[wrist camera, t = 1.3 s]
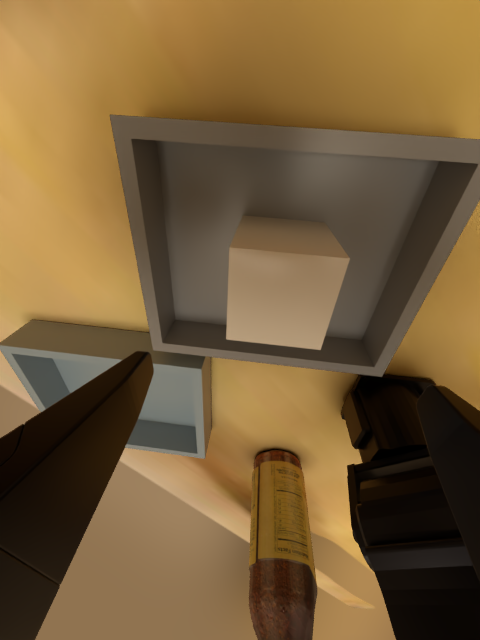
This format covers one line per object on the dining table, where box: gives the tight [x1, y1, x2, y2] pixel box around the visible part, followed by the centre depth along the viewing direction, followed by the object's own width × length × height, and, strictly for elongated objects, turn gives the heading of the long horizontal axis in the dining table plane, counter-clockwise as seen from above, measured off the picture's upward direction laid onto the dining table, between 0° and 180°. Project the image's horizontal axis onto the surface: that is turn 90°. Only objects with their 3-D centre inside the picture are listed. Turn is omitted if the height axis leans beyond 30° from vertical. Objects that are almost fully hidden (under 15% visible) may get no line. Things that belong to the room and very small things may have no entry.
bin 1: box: [0, 320, 212, 459], centre depth 25 cm, size 17×14×4 cm
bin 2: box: [110, 115, 480, 377], centre depth 16 cm, size 17×14×4 cm
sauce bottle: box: [249, 450, 317, 640], centre depth 24 cm, size 7×6×20 cm
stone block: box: [226, 216, 350, 350], centre depth 14 cm, size 5×5×6 cm
